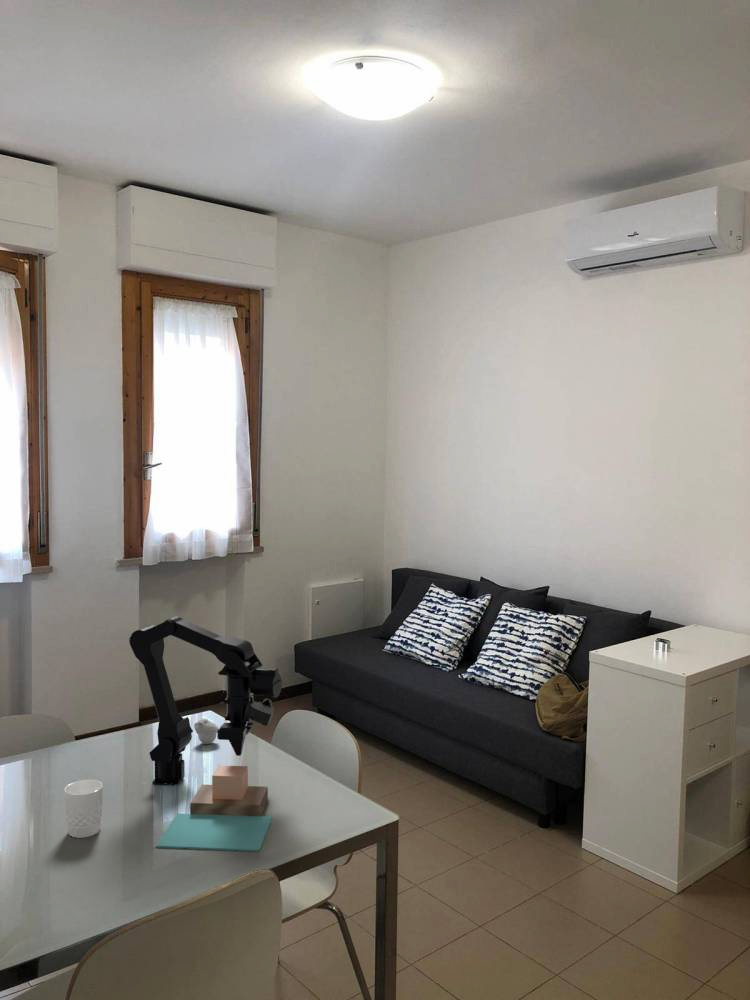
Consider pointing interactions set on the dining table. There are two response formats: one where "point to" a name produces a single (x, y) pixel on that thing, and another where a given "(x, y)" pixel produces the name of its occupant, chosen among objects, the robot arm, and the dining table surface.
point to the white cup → (84, 807)
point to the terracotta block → (230, 782)
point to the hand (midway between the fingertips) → (238, 755)
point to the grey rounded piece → (206, 730)
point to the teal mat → (216, 832)
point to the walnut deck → (229, 802)
